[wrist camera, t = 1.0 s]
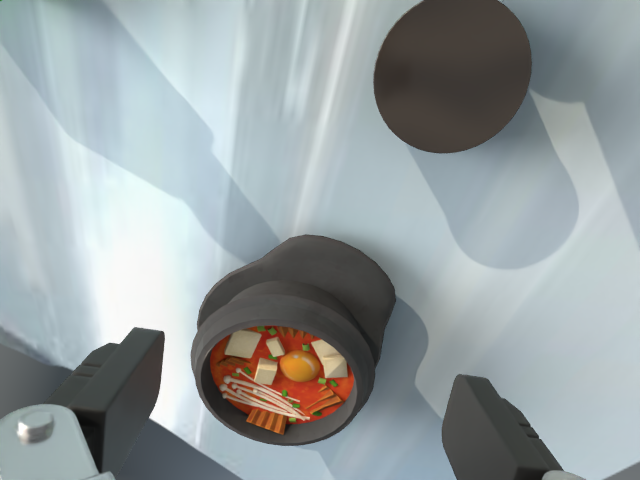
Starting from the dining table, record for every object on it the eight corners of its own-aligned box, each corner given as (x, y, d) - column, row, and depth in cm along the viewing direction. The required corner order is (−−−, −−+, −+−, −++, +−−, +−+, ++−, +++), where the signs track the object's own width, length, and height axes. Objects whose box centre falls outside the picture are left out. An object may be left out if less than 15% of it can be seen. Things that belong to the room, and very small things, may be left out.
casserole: (304, 433, 55) (295, 501, 47) (163, 362, 51) (129, 423, 44) (440, 289, 44) (455, 347, 37) (272, 187, 41) (253, 228, 33)
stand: (355, 23, 34) (354, 25, 31) (502, -32, 32) (519, -36, 28) (392, 155, 39) (395, 170, 35) (524, 115, 36) (541, 128, 33)
